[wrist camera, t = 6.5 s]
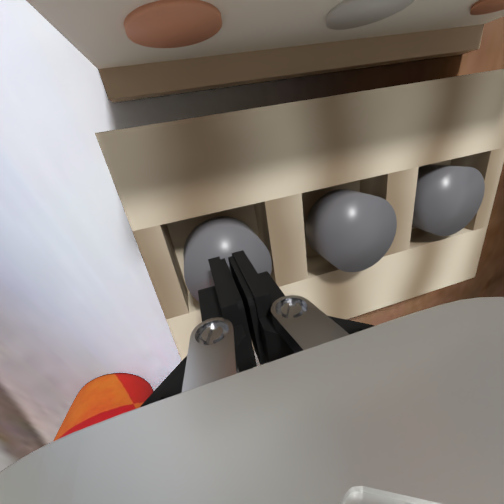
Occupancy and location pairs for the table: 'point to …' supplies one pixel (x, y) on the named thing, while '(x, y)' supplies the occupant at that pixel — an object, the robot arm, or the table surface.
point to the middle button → (351, 229)
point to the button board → (311, 187)
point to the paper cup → (105, 401)
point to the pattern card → (257, 38)
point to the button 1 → (220, 250)
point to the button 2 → (446, 198)
